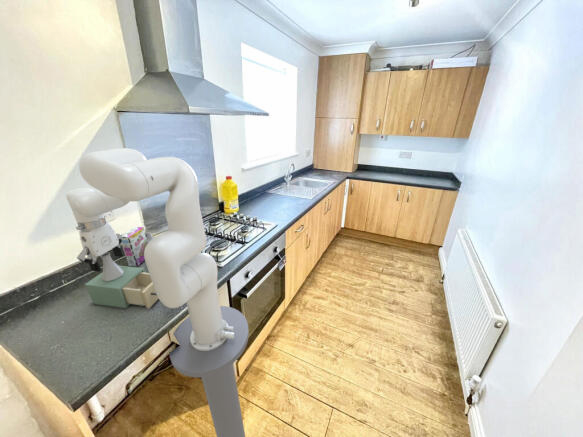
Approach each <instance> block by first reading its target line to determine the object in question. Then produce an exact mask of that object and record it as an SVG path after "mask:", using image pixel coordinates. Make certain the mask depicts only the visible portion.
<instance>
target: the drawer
mask: <svg viewBox="0 0 583 437" xmlns="http://www.w3.org/2000/svg"><path fill="white" fill-rule="evenodd" d="M121 290H122V293H123V296H124V298H125V301H126V303H129V304H130V305H136V306H142V307H143V306H145V307H146V309H151V308H152V307H153V305H154V304H155V303H156V302H158V300H159V298H158V296H157V294H156V292H155V289H154V286H153V283H152V280H151V277H150V274H149V272H145V273H144V272H141V273H140V274H138V275H137V276H136V277H135V278H134V279H132V280H131V281H130V282H129V283H128V284H126V285H125V286H124V287H123V288H122V289H121Z"/></svg>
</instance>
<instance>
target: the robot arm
mask: <svg viewBox="0 0 583 437" xmlns="http://www.w3.org/2000/svg"><path fill="white" fill-rule="evenodd" d="M78 168H79V173H80V175H81V178H82V179H83V180H84V181H85V183H86V184H88V185H89V186H90V187H92V188H90V187H83V188H82V187H80V188H75V189H72V190H69V191H68V192H67V193H66V194H65V197H66V200H67V202H68V205H69V207H70V210H71V211H72V213H73V216H74V218H75V222H76V224H77V226H75V229H76V230H77V231H78V232H79V233H78V234H79V239H80V243H81V246H82V250H81V252H79V254H78V255H77V256H76V259H77V260H78V261H80V262H82V263H86V264H88V265H89V268H90V270H91V271H93V272H97V273H99V272H102V268H101V266H100V264H99V262H98V261H97V259H98V257H100V256H101V255H103V254H104V253H106V252H109V251H111V250H112V253H113V255H114V257H118V258H119V257H120V258H122V257H124V254H123V253H122V252H123V251H122V244H121V242H122V235H123V234H122V233H116V232H115V229H114V228H113V226H112V225H111V224H110V221H107V220H106V217H105V215H104V214H106V213H109V212H111V211H114V210H117V209H121V208H123V207H125V206H127V205H128V204H129V203H130V202H139V201H142V200H146V199H148V198H151V197H154V196H155V197H156V196H157V195H160V194H163V193H166V192H169V194H168V196H167V199H166V203H165V208H164V215H165V218H166V222H167V230H166V231H165V232H163V233H161V234H160V235H157V236H156V237H155V238H154V239H152V240H151V241H150V242H149V243H148V244H147V245H146V247H145V250H144V258H145V260H144V261H145V265H146V268H147V272H148V273H149V274H150V277H151V280H152V283H153V286H154V289H155V292H156V294H157V296H158V298H159V299H158V300H159V302H160V303H162V305H163V306H165V307H166V308H169V309H178V308H180V307H182V306H183V305H185V304H186V307H187V311H188V315H189V316H190V320H191V324H192V328H193V331H192V333H191V336H190V341H191V345H192V346H193V347H194V348H195V349H196V350H198V351H210V350H213V349H215V348H217V347H219V346H220V345H221V344H223V342H224V341H225V340H226V339H227V338H229V339H233V338H234V335H235V333H233V332H229V331H233V329H234V327H231V326H230V327H229V326H228V324H227V322H226V321H224V320H223V319H222V314H221V308H220V306H221V302H220V297H219V296H220V295H219V290H218V274H219V273H218V265H217V262H216V260H215V258H214V257H213V255H211V254H209V253H206V252H203V251H204V250H205V248H206V246H207V235H206V229H205V225H204V220H203V216H202V215H203V214H202V211H201V205H200V187H199V182H198V178H197V175H196V173H195V170H194V169H193V168H192V167H191V165H190V164H188V162H186V161H185V160H184V159H181V158H179V157H175V156H161V157H154V158H149V159H147V158H146V156H145V155H144V154H143V153H142V152H140V151H139V150H137V149H134V148H129V147H120V148H113V149H112V148H111V149H105V150H97V151H91V152H88V153H86V154H84V155H83V156H82V157H81V158H80V161H79V165H78ZM93 188H94V189H96V190H94V189H93ZM86 256H87V257H86ZM189 316H188V317H189Z"/></svg>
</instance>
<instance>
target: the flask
mask: <svg viewBox="0 0 583 437" xmlns="http://www.w3.org/2000/svg"><path fill="white" fill-rule="evenodd" d="M99 257H100V258H101V260H102V272H103V274H102V280H104V281H106V282H107V281H111V280H115V279H117V278H119V277H120V276H122V275H123V273H124V271H123V270H122V269H121V268H120V267H119V266H120V265H119V266H118V263H116V262H115V261H114V259H112V256H111V252H109V251H108V252H106V253H104V254H103V255H101V256H99Z"/></svg>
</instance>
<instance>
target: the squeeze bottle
mask: <svg viewBox="0 0 583 437" xmlns="http://www.w3.org/2000/svg"><path fill="white" fill-rule="evenodd" d="M146 238H147V239H146V240H145V245H144V250H145V247H146V245H147V244H148V243H149V242H150V241H151V240H152V239H154V238H155V237H154V236H153V235H152V234H151V232H150V231H147V232H146Z"/></svg>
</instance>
